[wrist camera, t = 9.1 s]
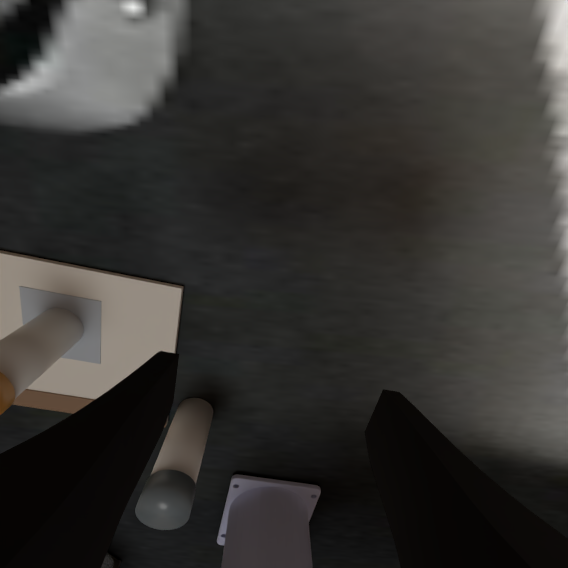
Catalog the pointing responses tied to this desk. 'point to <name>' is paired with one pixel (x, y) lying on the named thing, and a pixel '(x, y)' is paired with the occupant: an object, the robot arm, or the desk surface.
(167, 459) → the dark cap marker
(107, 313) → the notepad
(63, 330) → the orange cap marker
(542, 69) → the desk surface
